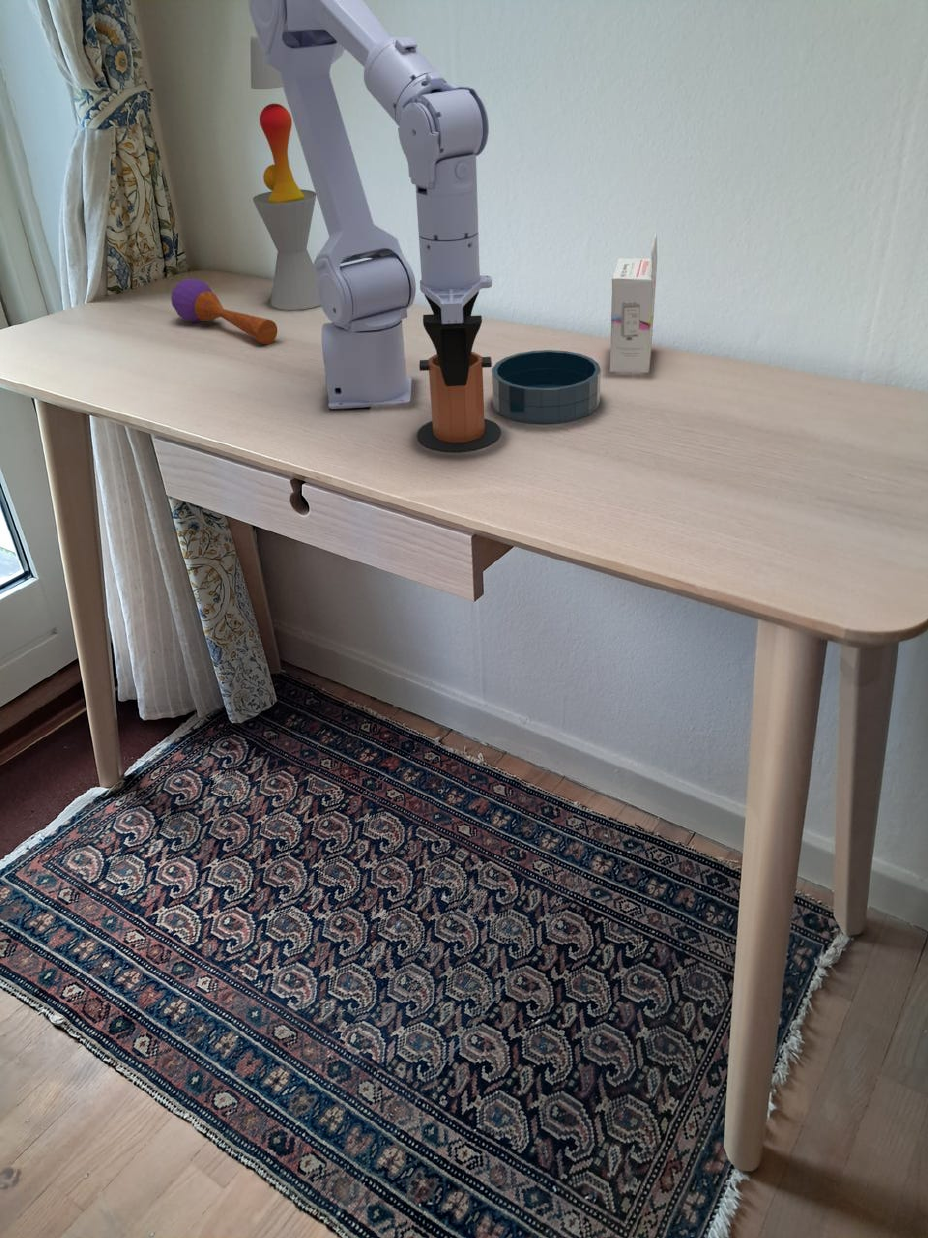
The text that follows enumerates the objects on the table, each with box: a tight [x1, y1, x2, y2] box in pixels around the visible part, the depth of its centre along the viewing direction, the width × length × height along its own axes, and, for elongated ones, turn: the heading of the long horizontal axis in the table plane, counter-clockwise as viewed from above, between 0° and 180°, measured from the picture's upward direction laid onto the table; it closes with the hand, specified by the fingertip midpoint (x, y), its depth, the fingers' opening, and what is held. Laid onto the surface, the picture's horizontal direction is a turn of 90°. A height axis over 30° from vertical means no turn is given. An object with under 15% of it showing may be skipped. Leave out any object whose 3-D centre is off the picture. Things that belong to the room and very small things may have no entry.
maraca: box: [170, 278, 278, 346], centre depth 138 cm, size 6×6×20 cm
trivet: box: [416, 417, 502, 454], centre depth 106 cm, size 9×9×1 cm
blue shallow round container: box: [491, 349, 602, 425], centre depth 111 cm, size 12×12×4 cm
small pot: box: [418, 351, 493, 443], centre depth 103 cm, size 7×6×8 cm
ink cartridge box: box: [609, 232, 658, 374], centre depth 117 cm, size 9×5×15 cm, turn 168°
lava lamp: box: [250, 33, 321, 311], centre depth 139 cm, size 9×9×35 cm
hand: (455, 370), depth 101 cm, fingers open, 7 cm apart
